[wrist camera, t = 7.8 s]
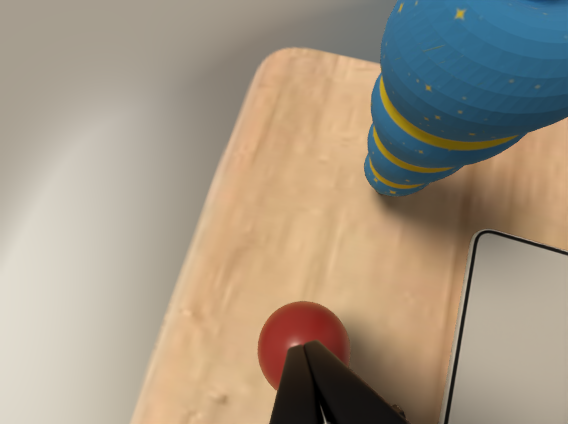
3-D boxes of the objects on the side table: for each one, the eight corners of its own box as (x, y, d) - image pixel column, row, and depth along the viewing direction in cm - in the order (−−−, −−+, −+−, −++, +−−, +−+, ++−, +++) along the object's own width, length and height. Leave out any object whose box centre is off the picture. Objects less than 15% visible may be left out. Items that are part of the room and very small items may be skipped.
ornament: (442, 176, 20) (866, -202, 5) (402, 254, 18) (803, 50, 4) (360, 134, 20) (527, -294, 6) (316, 206, 19) (394, -108, 5)
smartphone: (619, 265, 18) (601, 622, 14) (607, 266, 19) (587, 609, 15) (474, 223, 19) (419, 553, 15) (468, 226, 19) (413, 543, 15)
